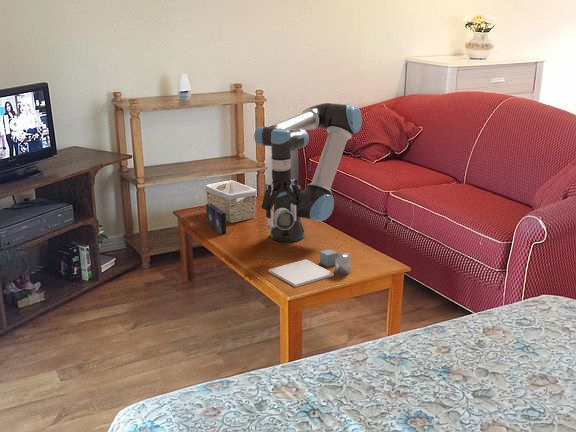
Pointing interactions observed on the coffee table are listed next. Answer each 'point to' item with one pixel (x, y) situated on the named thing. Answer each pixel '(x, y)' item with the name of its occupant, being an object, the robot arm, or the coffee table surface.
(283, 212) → the ceramic mug
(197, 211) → the coffee table surface
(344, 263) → the metal tin
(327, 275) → the white thin square slab
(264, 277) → the coffee table surface
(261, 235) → the coffee table surface
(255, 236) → the coffee table surface
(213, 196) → the storage basket
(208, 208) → the vhs cassette tape
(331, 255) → the slate block
